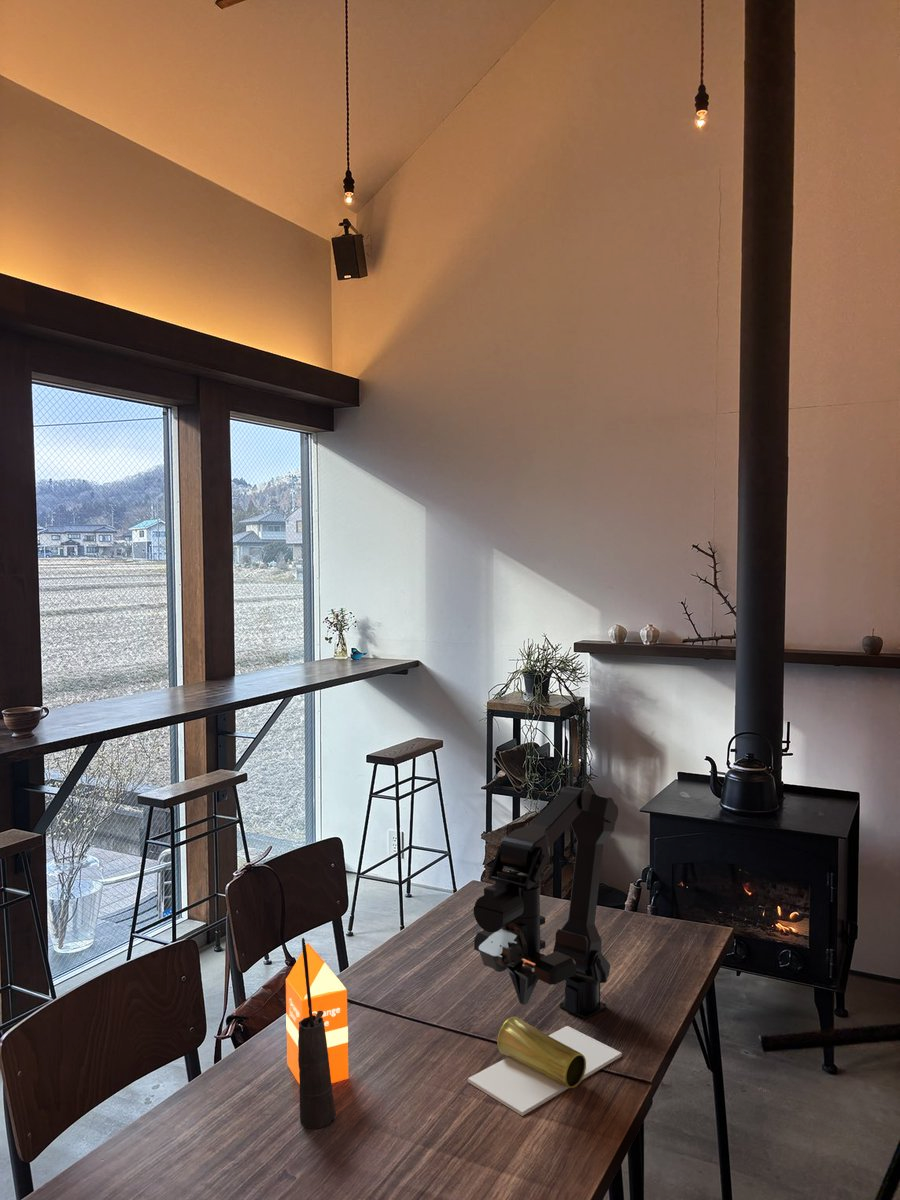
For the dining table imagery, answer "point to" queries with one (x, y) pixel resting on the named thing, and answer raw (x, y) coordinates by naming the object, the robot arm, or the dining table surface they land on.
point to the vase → (541, 1052)
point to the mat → (539, 1073)
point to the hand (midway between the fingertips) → (523, 1003)
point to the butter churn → (314, 1066)
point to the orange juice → (325, 998)
